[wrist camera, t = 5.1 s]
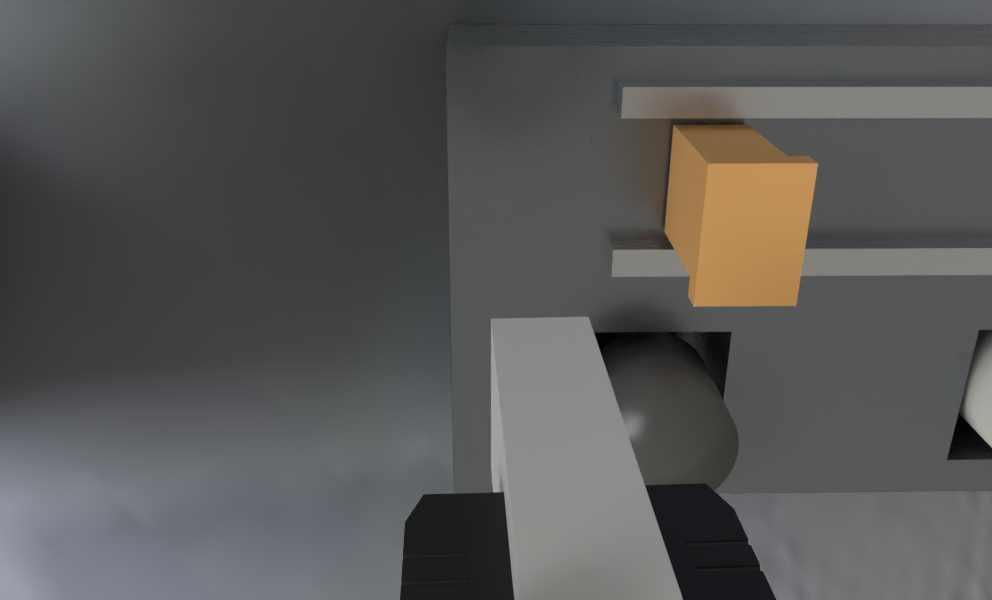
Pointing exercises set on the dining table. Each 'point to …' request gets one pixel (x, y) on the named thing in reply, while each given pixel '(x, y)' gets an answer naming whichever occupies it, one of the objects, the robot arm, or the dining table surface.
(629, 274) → the panel
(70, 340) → the dining table surface
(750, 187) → the toggle knob
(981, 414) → the white button
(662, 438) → the black button
